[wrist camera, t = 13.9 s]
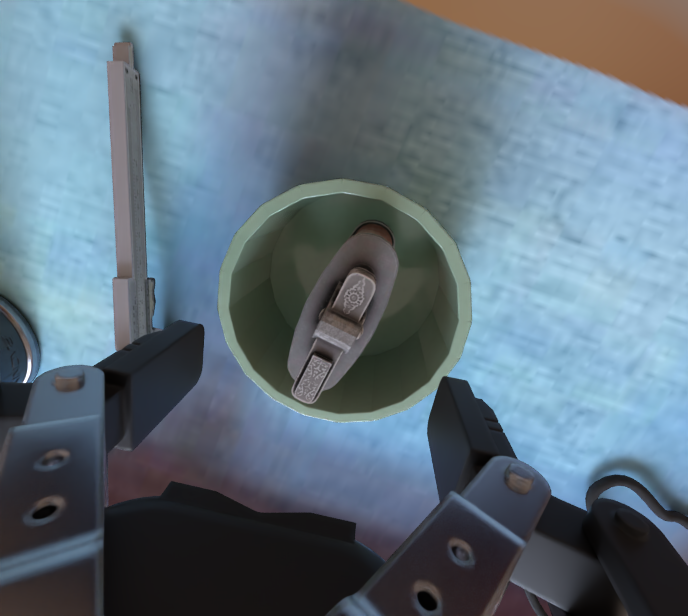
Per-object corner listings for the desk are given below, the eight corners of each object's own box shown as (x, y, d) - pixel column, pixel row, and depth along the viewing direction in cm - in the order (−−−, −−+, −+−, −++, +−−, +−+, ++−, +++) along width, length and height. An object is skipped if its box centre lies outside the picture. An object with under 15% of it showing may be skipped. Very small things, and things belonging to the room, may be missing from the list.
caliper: (180, 358, 28) (124, 405, 22) (167, 358, 28) (108, 404, 22) (135, 44, 21) (38, -11, 15) (118, 45, 21) (15, -10, 15)
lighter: (357, 209, 22) (335, 225, 13) (407, 234, 22) (422, 269, 13) (305, 319, 25) (254, 401, 15) (349, 341, 25) (327, 436, 15)
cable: (466, 572, 32) (483, 643, 27) (616, 462, 26) (670, 530, 21) (592, 630, 35) (626, 703, 30) (753, 544, 29) (826, 619, 24)
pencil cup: (258, 339, 26) (211, 395, 19) (276, 165, 22) (226, 155, 15) (420, 374, 26) (433, 444, 19) (469, 202, 22) (508, 208, 15)
